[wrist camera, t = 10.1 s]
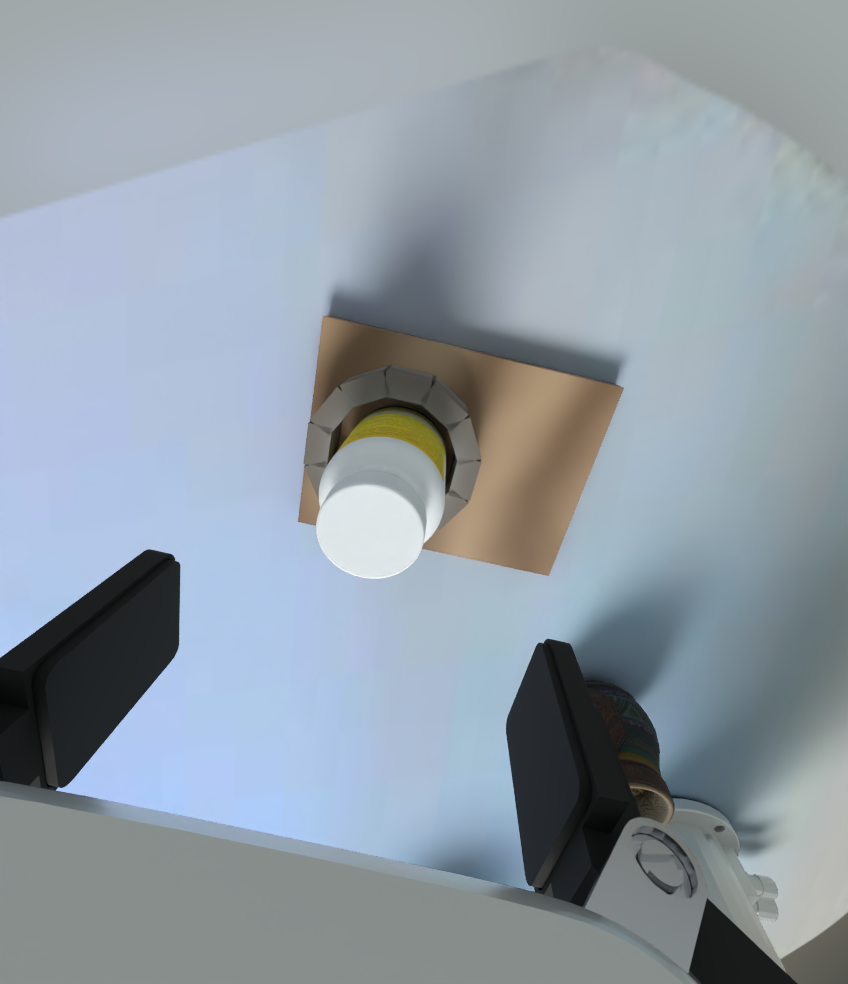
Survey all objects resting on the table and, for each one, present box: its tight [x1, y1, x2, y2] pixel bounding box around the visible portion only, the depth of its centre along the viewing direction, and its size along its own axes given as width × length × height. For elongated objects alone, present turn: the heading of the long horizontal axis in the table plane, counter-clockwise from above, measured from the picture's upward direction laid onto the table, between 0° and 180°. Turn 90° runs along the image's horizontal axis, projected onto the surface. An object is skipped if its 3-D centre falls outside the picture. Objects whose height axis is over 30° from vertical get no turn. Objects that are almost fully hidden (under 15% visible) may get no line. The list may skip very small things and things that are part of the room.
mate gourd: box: [585, 681, 675, 826], centre depth 29 cm, size 7×8×10 cm
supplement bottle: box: [316, 404, 446, 579], centre depth 20 cm, size 5×5×10 cm
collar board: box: [298, 316, 624, 576], centre depth 24 cm, size 16×12×4 cm
